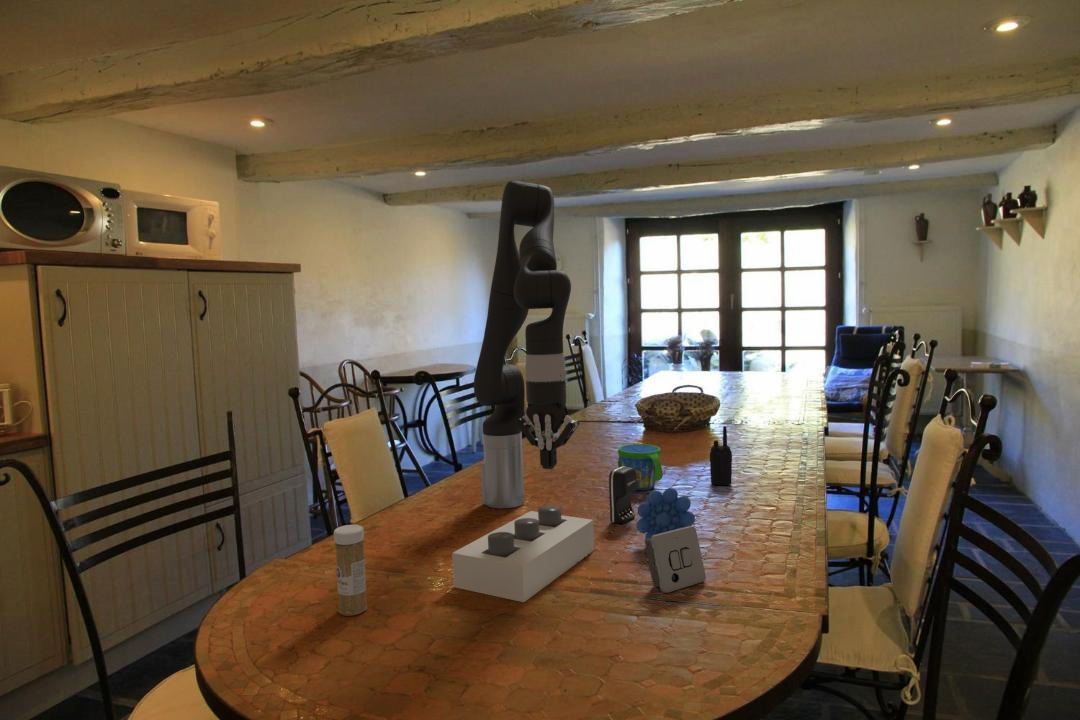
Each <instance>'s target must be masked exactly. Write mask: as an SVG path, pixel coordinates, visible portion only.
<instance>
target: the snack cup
mask: <svg viewBox="0 0 1080 720" xmlns="http://www.w3.org/2000/svg"><path fill="white" fill-rule="evenodd" d="M661 452H662V449H661V448H660V446H657V445H653V444H646V443H635V444H634V443H633V444H632V443H631V444H624V445H621V446H619V447H618V449H617V454H618V460H617V466H618V467H617V468H619V467H622V466H625V467H630V468H633V469H635V471H636V473H637V490H636V491H649V490H651V489H654V487H655V486H656V482H659V481H661V480H662V478H663V477H664V476H663V475H664V474H663V467H662V464H661V459H660V456H661V454H662V453H661Z"/></svg>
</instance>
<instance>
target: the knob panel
mask: <svg viewBox="0 0 1080 720" xmlns="http://www.w3.org/2000/svg"><path fill="white" fill-rule="evenodd" d="M523 518H533V519H537V520H538V511H533V510H530V511H527V512H526V513H524V514H522V515H521V516H519V517H517V518H515V519H513V520H511V521H509V522H507V523H506V524H504V525H502V526H500V527H498V528H496V529H494V530H492V531H490V532H489V533H487V534H485V535H483V536H481V537H480V538H477V539H475V540H474V541H472V542H470V543H468V544H466V545H464V546H462V547H461V548H459V549H456V550H455V551H453V552H452V555H451V556H452V571H453V572H452V574H453V575H452V576H453V577H452V578H453V587H454V588H457V589H460V590H461V589H462V590H466V591H470V592H475V593H479V594H484V595H489V596H492V597H493V596H494V597H498V598H502V599H507V600H512V601H515V602H516V601H517V602H520V603H525V602H526V601H528V600H529V599H531V598H532V597H534V596H535V595H536V594H537V593H539V592H541V591H542V589H544V588H545V587H547V586H548V585H549V584H551V583H552V582H554V581H555V580H556V579H558V578H559V577H560V576H561V575H563V574H564V573H566V572H567V571H569V570H570V569H572V567H574V566H575V565H577V564H578V563H579V562H581V560H583V559H584V557H585V558H586V557H588V556H589V555H590V554H591V553H592V552H594V551H595V535H594V534H595V531H594V530H595V528H594V527H595V526H594V519H590V518H582V517H576V516H569V515H568V516H567V515H562V514H561V520H562V524H560V525H558V526H557V527H549V526H542V525H539V538H537V539H535V540H534V541H532V542H531V541H525V540H519V539H515V525H514V522H515V521H516V520H518V519H523ZM496 532H509V533H512V534H513V535H514V553H512V554H511V555H509V556H508V557H506V558H505V557H500V556H494V555H489V554H488V536H489V535H490V534H492V533H496ZM588 554H589V555H588ZM577 562H578V563H577Z"/></svg>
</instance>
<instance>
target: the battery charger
mask: <svg viewBox="0 0 1080 720" xmlns="http://www.w3.org/2000/svg"><path fill="white" fill-rule="evenodd" d="M636 491H638V490H637V473H636V471H635V469H633V468H630V467H625V466H622V467H616V468H614V469H612V470H611V471H610V472H609V475H608V494H609V517H610V518H609V519H610V521H609V522H611V523H613V524H625V523H627V522H629V521H631V520H632V519H634V518H635V517H636V514H635V512H634V508H633V505H632V494H633V493H635V492H636Z"/></svg>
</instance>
